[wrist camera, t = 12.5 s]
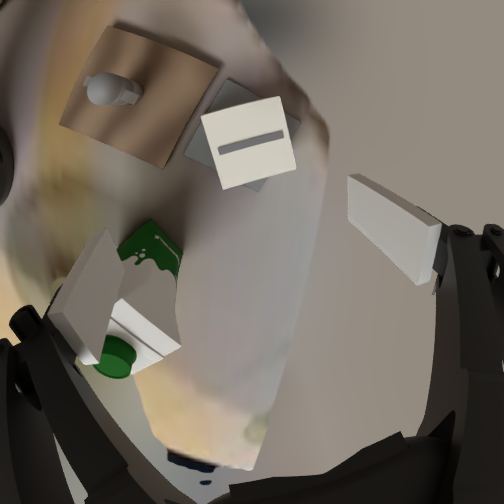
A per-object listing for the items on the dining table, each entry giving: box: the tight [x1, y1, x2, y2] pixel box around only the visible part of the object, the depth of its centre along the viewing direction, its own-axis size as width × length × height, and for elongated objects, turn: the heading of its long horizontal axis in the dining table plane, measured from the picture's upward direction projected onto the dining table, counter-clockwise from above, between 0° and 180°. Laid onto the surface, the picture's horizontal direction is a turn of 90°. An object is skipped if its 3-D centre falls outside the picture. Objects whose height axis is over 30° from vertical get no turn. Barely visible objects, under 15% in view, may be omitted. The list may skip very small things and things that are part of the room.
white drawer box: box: [201, 96, 296, 190], centre depth 30 cm, size 8×8×6 cm
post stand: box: [59, 26, 219, 169], centre depth 23 cm, size 16×14×12 cm
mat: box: [183, 79, 301, 192], centre depth 33 cm, size 11×11×1 cm
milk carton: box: [92, 219, 183, 379], centre depth 30 cm, size 9×9×20 cm
